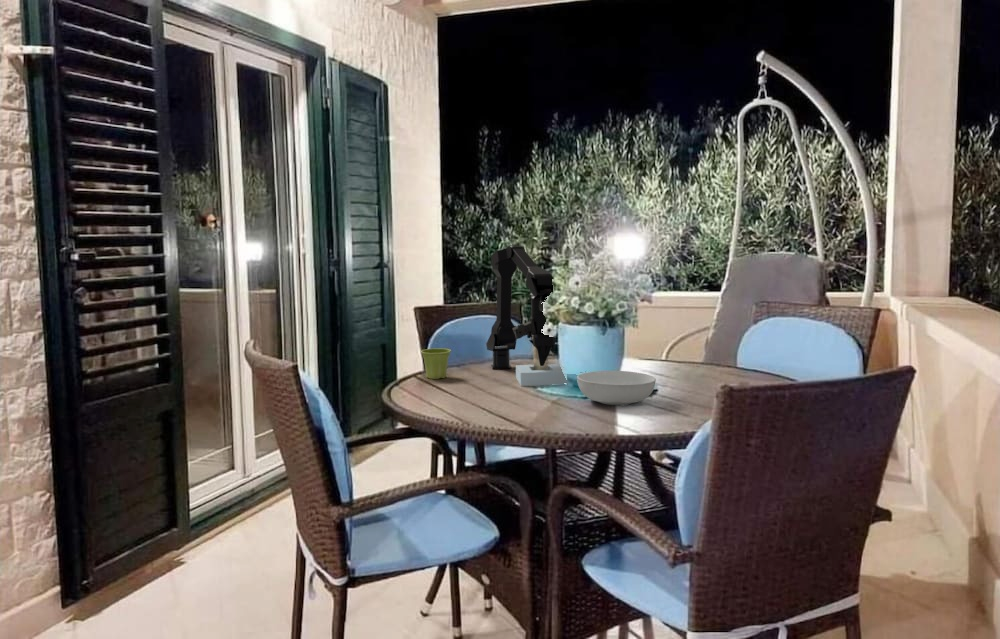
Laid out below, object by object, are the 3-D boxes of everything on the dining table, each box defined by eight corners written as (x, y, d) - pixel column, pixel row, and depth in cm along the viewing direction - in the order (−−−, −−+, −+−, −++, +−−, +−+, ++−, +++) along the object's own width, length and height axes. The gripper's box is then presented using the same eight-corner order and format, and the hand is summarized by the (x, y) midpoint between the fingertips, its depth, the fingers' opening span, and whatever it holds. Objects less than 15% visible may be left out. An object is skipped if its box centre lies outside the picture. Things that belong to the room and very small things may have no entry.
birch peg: (532, 370, 247) (532, 345, 246) (546, 370, 247) (546, 344, 246) (534, 373, 242) (534, 347, 241) (548, 372, 243) (548, 346, 242)
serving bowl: (637, 414, 200) (637, 387, 200) (563, 405, 211) (563, 379, 211) (666, 398, 218) (667, 374, 217) (597, 391, 229) (597, 367, 228)
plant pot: (447, 380, 248) (446, 353, 247) (418, 379, 249) (417, 352, 248) (454, 375, 257) (453, 348, 256) (425, 374, 259) (425, 348, 258)
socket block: (515, 377, 251) (515, 365, 251) (559, 376, 252) (559, 364, 252) (520, 386, 237) (520, 372, 237) (567, 384, 239) (567, 371, 238)
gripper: (511, 311, 251) (511, 360, 253) (517, 317, 233) (518, 370, 234) (546, 310, 252) (546, 359, 254) (555, 317, 234) (555, 369, 235)
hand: (540, 364), depth 244 cm, fingers closed on birch peg, 4 cm apart
